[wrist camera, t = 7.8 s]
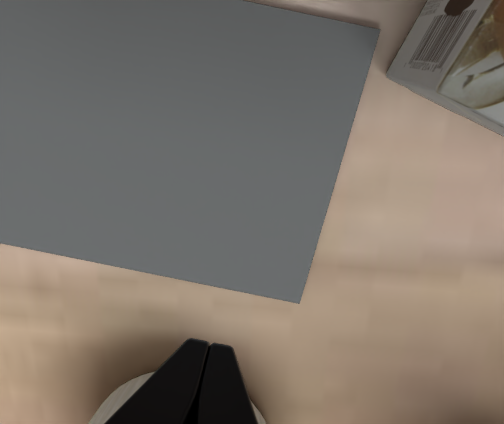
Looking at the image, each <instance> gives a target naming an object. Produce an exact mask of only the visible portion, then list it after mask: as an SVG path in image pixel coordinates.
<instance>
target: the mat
mask: <svg viewBox="0 0 504 424" xmlns="http://www.w3.org/2000/svg"><path fill="white" fill-rule="evenodd" d="M379 33H380V29H375V28H371V27H366V26H361V25H357V24H352V23H347V22H342V21H338V20H333V19H328V18H324V17H319V16H314V15H309V14H305V13H300V12H295V11H291V10H286V9H281V8H276V7H272V6H267V5H262V4H258V3H253V2H248V1H243V0H0V243H2V244H7V245H12V246H16V247H21V248H26V249H31V250H36V251H41V252H46V253H51V254H56V255H61V256H66V257H71V258H76V259H81V260H86V261H91V262H96V263H101V264H105V265H110V266H115V267H120V268H125V269H130V270H135V271H140V272H145V273H150V274H155V275H160V276H165V277H170V278H175V279H180V280H185V281H190V282H194V283H199V284H204V285H209V286H214V287H219V288H224V289H229V290H234V291H239V292H244V293H249V294H254V295H259V296H264V297H269V298H274V299H279V300H283V301H288V302H293V303H298V304H300V300H301V297H302V294H303V290H304V287H305V283H306V280H307V277H308V273H309V270H310V267H311V263H312V260H313V256H314V253H315V250H316V246H317V243H318V239H319V236H320V233H321V229H322V226H323V223H324V219H325V216H326V212H327V209H328V206H329V202H330V199H331V196H332V192H333V189H334V185H335V182H336V179H337V175H338V172H339V168H340V165H341V162H342V158H343V155H344V152H345V148H346V145H347V141H348V138H349V135H350V131H351V128H352V124H353V121H354V118H355V114H356V111H357V108H358V104H359V101H360V97H361V94H362V91H363V87H364V84H365V81H366V77H367V74H368V70H369V67H370V64H371V60H372V57H373V53H374V50H375V47H376V43H377V40H378V37H379Z"/></svg>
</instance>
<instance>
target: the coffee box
mask: <svg viewBox="0 0 504 424" xmlns="http://www.w3.org/2000/svg"><path fill="white" fill-rule="evenodd" d="M386 76H387V78H389V79H390V80H392V81H394V82H396V83H398V84H400V85H402V86H405V87H407V88H408V89H410V90H411V91H413V92H415V93H417V94H419V95H421V96H423V97H425V98H427V99H429V100H430V101H432V102H434V103H436V104H438V105H440V106H442V107H444V108H446V109H448V110H450V111H452V112H454V113H456V114H459V115H461V116H464V117H466V118H468V119H470V120H472V121H474V122H476V123H478V124H480V125H482V126H484V127H486V128H488V129H490V130H492V131H494V132H496V133H498V134H500V135H502V136H504V0H427V2H426V4H425V6H424V8H423V10H422V11H421V13H420V15H419V17H418V18H417V20H416V22H415V24H414V26H413V27H412V29H411V31H410V32H409V34H408V36H407V38H406V39H405V41H404V43H403V44H402V46H401V48H400V50H399V52H398V53H397V55H396V57H395V59H394V61H393V62H392V64H391V66H390V67H389V69H388V71H387V74H386Z"/></svg>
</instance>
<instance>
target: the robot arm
mask: <svg viewBox="0 0 504 424" xmlns="http://www.w3.org/2000/svg"><path fill="white" fill-rule="evenodd" d="M104 424H258V421H257V418H256V415H255V412H254V409H253V406H252V403H251V400H250V397H249V394H248V391H247V388H246V385H245V382H244V379H243V376H242V373H241V370H240V367H239V364H238V361H237V358H236V355H235V352H234V349H233V348H232V347H231V346H228V345H223V344H218V343H212V344H211V345H210V344H209V342H207V341H203V340H198V339H193V338H190V339H187V340H186V341H185V342H184V343H183V344H182V345H181V346H180V347H179V348H178V349H177V350H176V351H175V352H174V353H173V354H172V355H171V356H170V357H169V358H168V359H167V360H166V361H165V362H164V363H163V364H162V365H161V366H160V367H159V368H158V369H157V370H156V371H155V372H154V373H153V374H152V375H151V376H150V377H149V378H148V380H147V381H146V382H145V383H144V384H143V385H142V386H141V387H140V388H139V389H138V390H137V391H136V392H135V393H134V394H133V395H132V396H131V397H130V398H129V399H128V400H127V401H126V402H125V403H124V404H123V405H122V406H121V407H120V408H119V409H118V410H117V411H116V412H115V413H114V414H113V415H112V416H111V417H110V418H109V419H108V420H107V421H106V422H105V423H104Z"/></svg>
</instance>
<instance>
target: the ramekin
mask: <svg viewBox="0 0 504 424" xmlns="http://www.w3.org/2000/svg"><path fill="white" fill-rule="evenodd" d="M153 373H154V372H151V373H148V374H144V375H141V376H139V377H137V378H134V379H132V380H129V381H128V382H127V383H125V384H123V385H121V386H119V387H118V388H117V389H116V390H115V391H113V392H112V393H111V394H110V395H109V396H108V398H107V399H106V400H105V401H104V402H103V403H102V404H101V406H100V407H99V408H98V410H97V411H96V413H95V414H94V415H93V417H92V418H91V420H90V421H89V423H88V424H104V423H105V422H106V421H107V420H108V419H109V418H110V417H111V416H112V415H113V414H114V413H115V412H116V411H117V410H118V409H119V408H120V407H121V406H122V405H123V404H124V403H125V402H126V401H127V400H128V399H129V398H130V397H131V396H132V395H133V394H134V393H135V392H136V391H137V390H138V389H139V388H140V387H141V386H142V385H143V384H144V383H145V382H146V381H147V380H148V378H149V377H150V376H151V375H152V374H153ZM251 403H252V402H251ZM252 406H253V409H254V412H255V415H256V418H257V421H258V424H266V422H265V420H264V418H263V417H262V415H261V413H260V412H259V410H258V409H257V408H256V407H255V406H254V404H253V403H252Z"/></svg>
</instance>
